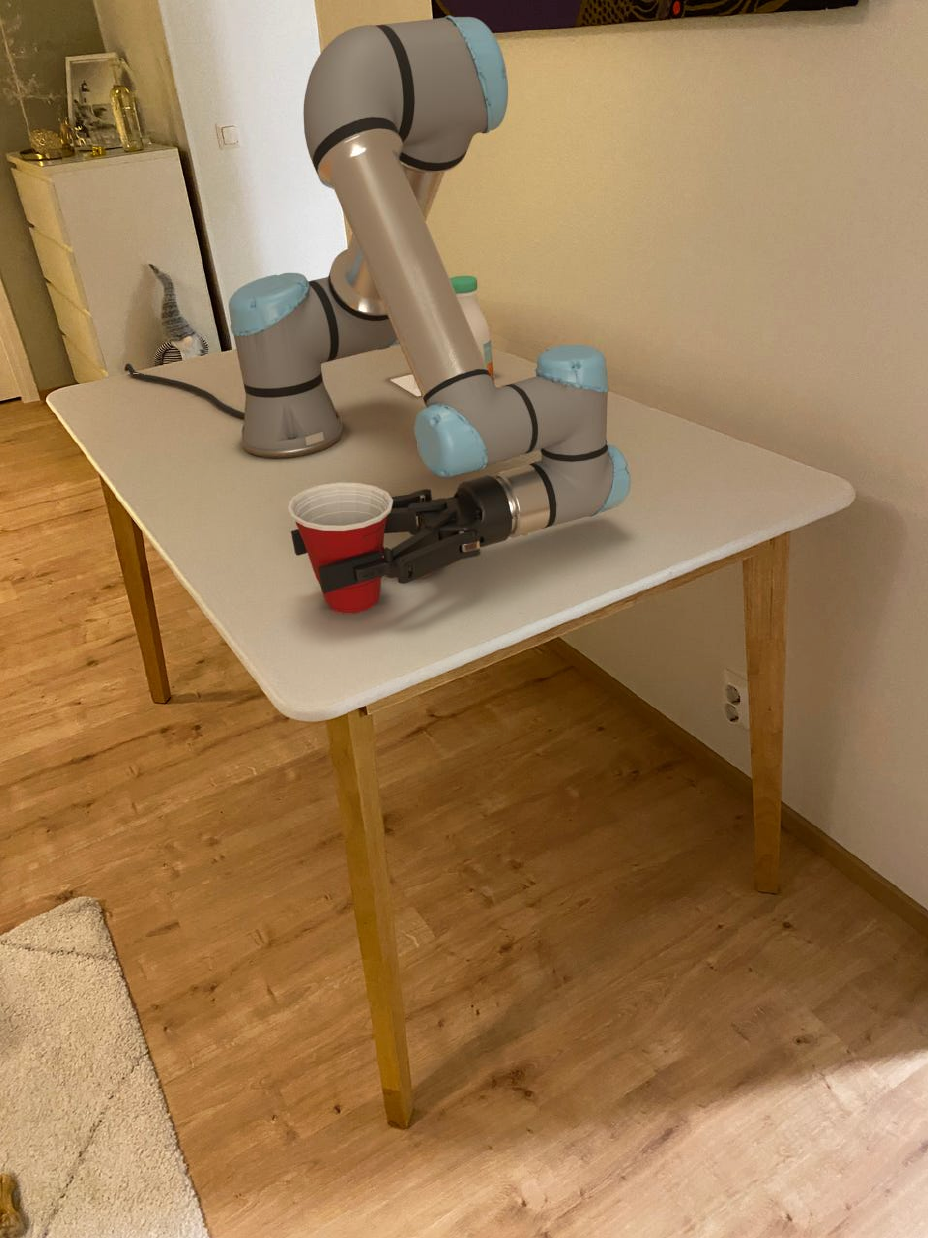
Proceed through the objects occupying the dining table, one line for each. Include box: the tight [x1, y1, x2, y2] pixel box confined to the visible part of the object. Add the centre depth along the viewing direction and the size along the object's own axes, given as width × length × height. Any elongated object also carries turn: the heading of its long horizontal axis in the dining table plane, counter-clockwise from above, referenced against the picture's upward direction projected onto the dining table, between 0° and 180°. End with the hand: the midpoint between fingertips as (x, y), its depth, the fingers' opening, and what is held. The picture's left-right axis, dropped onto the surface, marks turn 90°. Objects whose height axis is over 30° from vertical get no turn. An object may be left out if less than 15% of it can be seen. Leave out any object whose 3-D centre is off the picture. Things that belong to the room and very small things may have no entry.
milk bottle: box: [449, 275, 495, 383], centre depth 150 cm, size 8×8×20 cm
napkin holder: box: [390, 373, 422, 398], centre depth 167 cm, size 15×11×6 cm
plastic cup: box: [286, 481, 393, 615], centre depth 103 cm, size 11×11×12 cm
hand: (306, 561), depth 102 cm, fingers closed on plastic cup, 9 cm apart
